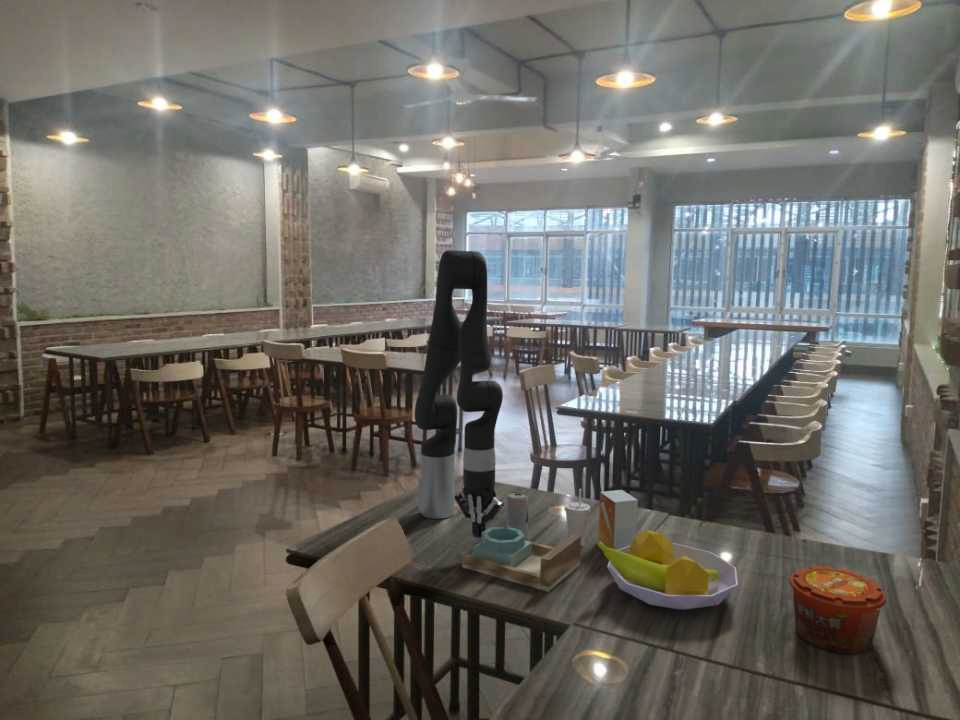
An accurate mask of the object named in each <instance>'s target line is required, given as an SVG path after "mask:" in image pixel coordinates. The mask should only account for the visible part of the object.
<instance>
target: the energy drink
mask: <svg viewBox="0 0 960 720" xmlns="http://www.w3.org/2000/svg"><path fill="white" fill-rule="evenodd" d="M506 526H507V527H511V528H515V529H519V530H521V531H522V533H523V534H524V535H525V540H526V541H529V540H528V539H529V538H528V537H529V533H528V532H529V496H528V494H527V493H525V492H521V491H513V492H512V491H511V492H509V493H508V494H507V496H506Z"/></svg>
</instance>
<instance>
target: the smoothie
mask: <svg viewBox="0 0 960 720" xmlns="http://www.w3.org/2000/svg"><path fill="white" fill-rule="evenodd" d="M563 509H564V512H565V516H566V525H567V535H568V536H567V538H568V537H570V536H571V535H572V534H575V535H579V536H581V547H583V546H584V545H585V542H586V541H585V540H586V533H587V527H588V521H589V515H590V513H591V506H590V505H589V504H588V503H585V502H582V488H579V489H578V501H572V502H566V504H565V505H564V508H563Z"/></svg>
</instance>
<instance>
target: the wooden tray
mask: <svg viewBox="0 0 960 720" xmlns="http://www.w3.org/2000/svg"><path fill="white" fill-rule="evenodd" d="M525 541H526V540H525ZM528 541H529V542H532V554H531V555H529V556H528V557H527V558H525V559H524V560H522V561H521V562H520V563H518V564H517V565H515V566H514V567H511V566H507V565H503V564H500V563H496V562H492V561H489V560H485V559H481V558H478V557H474V556H473V555H470V554H467V553H464V554H462V556H461V567H462V568H464V569H467V570H471V571H475V572H478V573H481V574H485V575H487V576H492V577H494V578H495V577H496V578H499V579H503V580H505V581H509V582H512V583H517V584H520V585H523V586H527V587H530V588H535V589H537V590H540V591H544V592H547V593H549V592H550V591H551V590H552V589H554V588H555V587H556V586H557V585H558V584H560V583H561V582H562V581H563V580H565V578H567V577H568V576H569V575H570V574H571V573H572V572H573V571H575V570H576V569H578V567H580V566H581V552H582V551H581V548H582V546H581V536H579V535H575V534H572V535H571V536H570V537H568V536H567V538H565V539H564V540H563V541H561V542H560V543H559V544H558V545H556V546H555V547H554V546H550V545H545V544H542V543H539V542H538V543H537V542H534V541H530V540H528Z"/></svg>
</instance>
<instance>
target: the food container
mask: <svg viewBox="0 0 960 720" xmlns="http://www.w3.org/2000/svg"><path fill="white" fill-rule="evenodd" d="M788 583H789V585H790V586H791V588H792V595H793V596H792V597H793V611H794V612H793V613H794V627H795V632H796V634H797V635H798V636H799V637H800V638H801V639H802V640H803V641H805V642H806V643H808V644H809V645H812V646H814V647H817V648H818V649H821V650H825V651H828V652H831V653H832V652H833V653H837V654H844V655H852V654H853V655H854V654H861V653H864V652H867V651H868V650H870V649H871V648H872V646H873V642H874V639H875V634H876V629H877V626H878V625H877V624H878V623H879V617H880V612H881V610H882V609H883V608H884V606H885V604H886V602H887V596H886V593H885V591H884V590H883V589H882V588H881V586H880V585H879V584H878V583H877V582H876V581H874V580H873V579H871V578H865V577H863V575H862V574H860V573H858V572H855V571H852V570H848V569H843V568H838V569H834V568H832V567H831V566H825V565H812V566H809V568H804V567H802V568H799V569H797V570H796V571H795V572H793V573H792V574H791V575H790V577H789V581H788Z"/></svg>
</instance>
